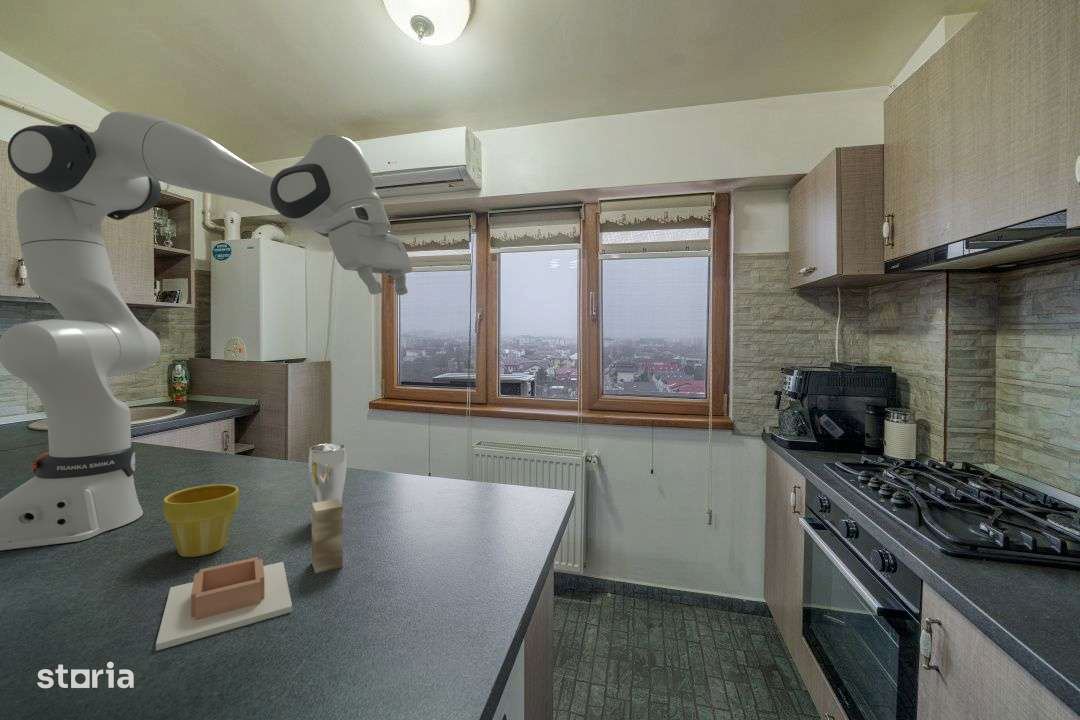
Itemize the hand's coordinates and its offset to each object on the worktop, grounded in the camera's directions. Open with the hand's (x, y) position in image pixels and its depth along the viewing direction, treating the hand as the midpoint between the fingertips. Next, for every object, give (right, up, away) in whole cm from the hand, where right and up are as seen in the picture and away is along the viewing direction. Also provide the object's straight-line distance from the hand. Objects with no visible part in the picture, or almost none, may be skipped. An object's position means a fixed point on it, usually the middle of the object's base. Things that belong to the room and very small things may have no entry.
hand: (390, 293), depth 83 cm
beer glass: (-15, -45, +6) cm, 48 cm away
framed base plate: (-15, -46, -22) cm, 53 cm away
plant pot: (-30, -45, -7) cm, 55 cm away
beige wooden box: (-7, -46, -11) cm, 48 cm away
